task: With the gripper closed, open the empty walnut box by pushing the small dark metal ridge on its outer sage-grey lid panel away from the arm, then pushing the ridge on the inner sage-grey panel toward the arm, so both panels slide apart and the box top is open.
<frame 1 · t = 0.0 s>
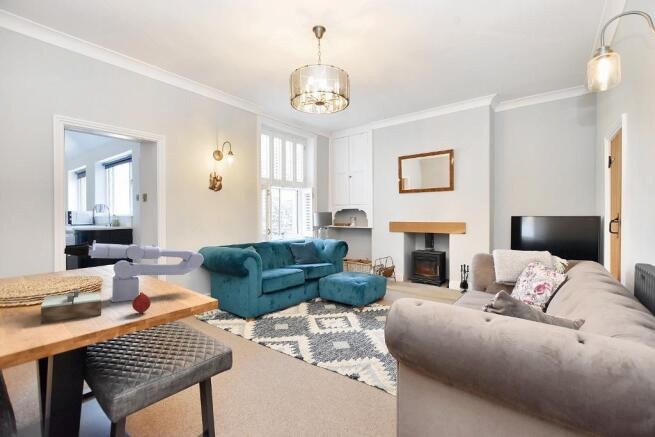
hand: (64, 249, 121), 22 cm above the table, tool horizontal, fingers open, 7 cm apart
inner panel: (87, 294, 116), point 6 cm above the table, slide at 0.0 cm
onion: (141, 314, 117), on the table
box: (72, 314, 113), on the table
outer panel: (58, 297, 111), point 6 cm above the table, slide at 0.0 cm
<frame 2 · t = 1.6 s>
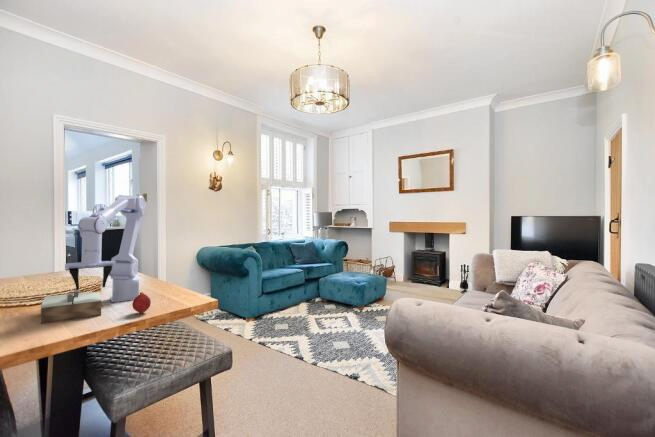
hand: (90, 288, 114), 9 cm above the table, tool pointing down, fingers open, 7 cm apart
nothing on the table moved.
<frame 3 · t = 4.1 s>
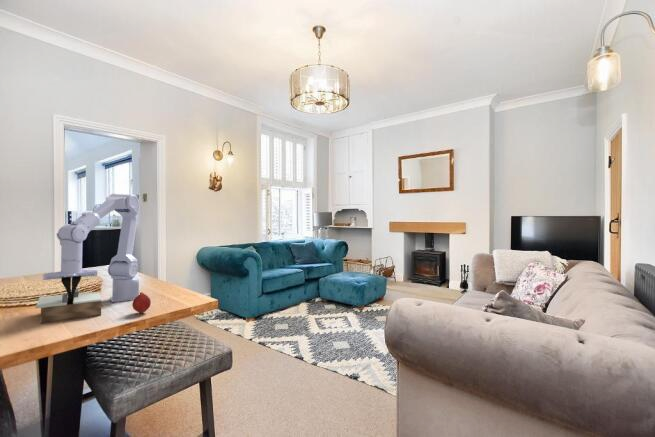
hand: (70, 298, 110), 6 cm above the table, tool pointing down, fingers closed
outer panel: (52, 298, 110), point 6 cm above the table, slide at 1.4 cm, touching gripper
everything else where it was.
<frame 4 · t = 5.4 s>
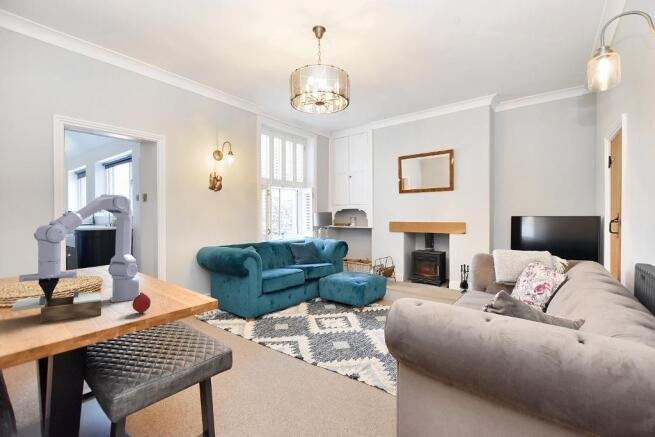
hand: (48, 300, 107), 6 cm above the table, tool pointing down, fingers closed
outer panel: (30, 300, 106), point 7 cm above the table, slide at 7.1 cm, touching gripper
everything else where it was.
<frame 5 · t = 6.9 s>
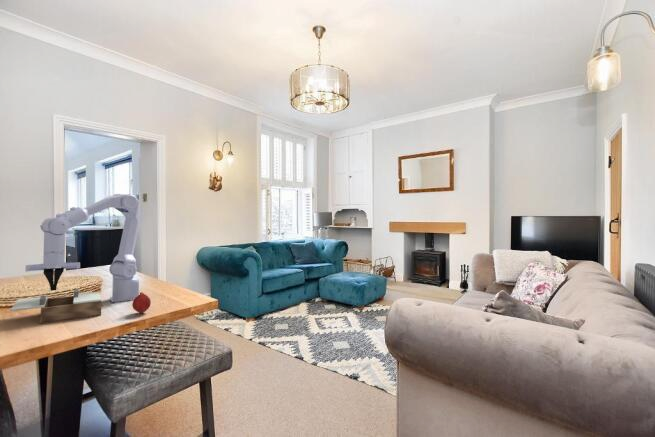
hand: (53, 289, 112), 9 cm above the table, tool pointing down, fingers closed
outer panel: (30, 300, 106), point 6 cm above the table, slide at 7.1 cm
everything else where it was.
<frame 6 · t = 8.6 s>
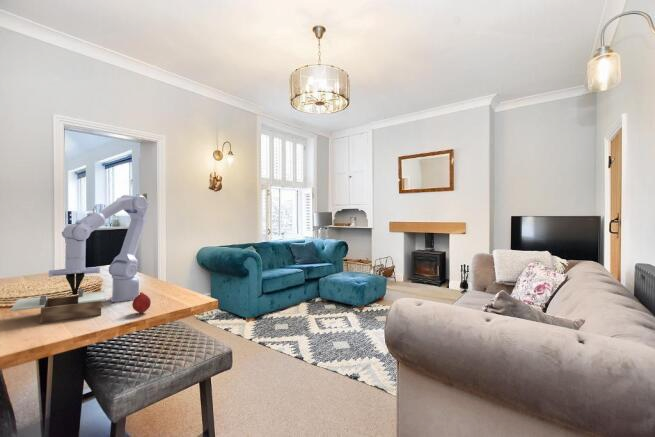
hand: (74, 294, 116), 6 cm above the table, tool pointing down, fingers closed
inner panel: (91, 294, 117), point 6 cm above the table, slide at 1.3 cm, touching gripper
everything else where it was.
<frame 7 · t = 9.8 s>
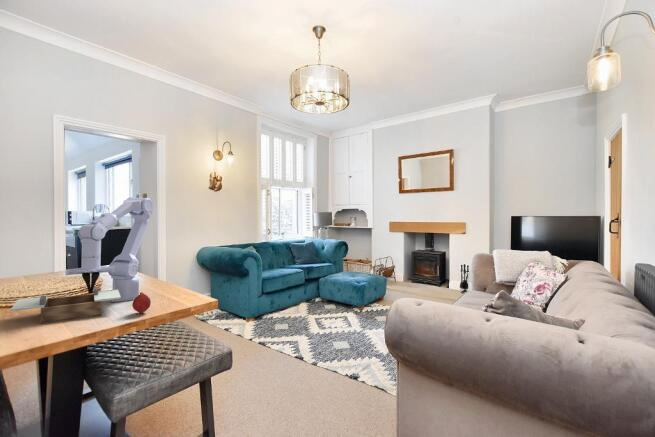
hand: (90, 292, 119), 6 cm above the table, tool pointing down, fingers closed
inner panel: (107, 292, 119), point 6 cm above the table, slide at 5.8 cm, touching gripper
everything else where it was.
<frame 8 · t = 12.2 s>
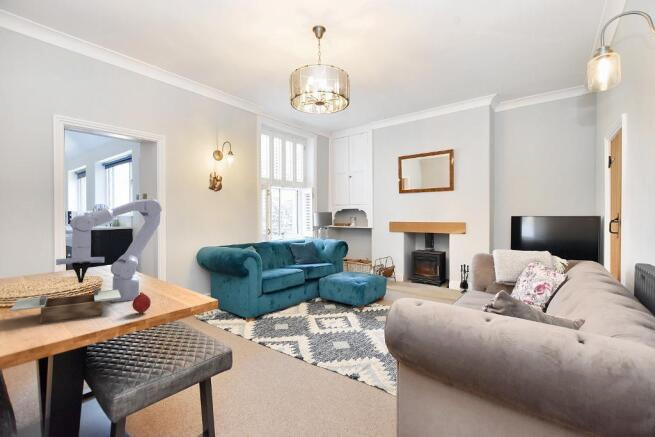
hand: (80, 282, 122), 9 cm above the table, tool pointing down, fingers closed
inner panel: (107, 292, 119), point 6 cm above the table, slide at 5.9 cm
everything else where it was.
at the end: outer panel slide at 7.1 cm; inner panel slide at 5.9 cm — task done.
